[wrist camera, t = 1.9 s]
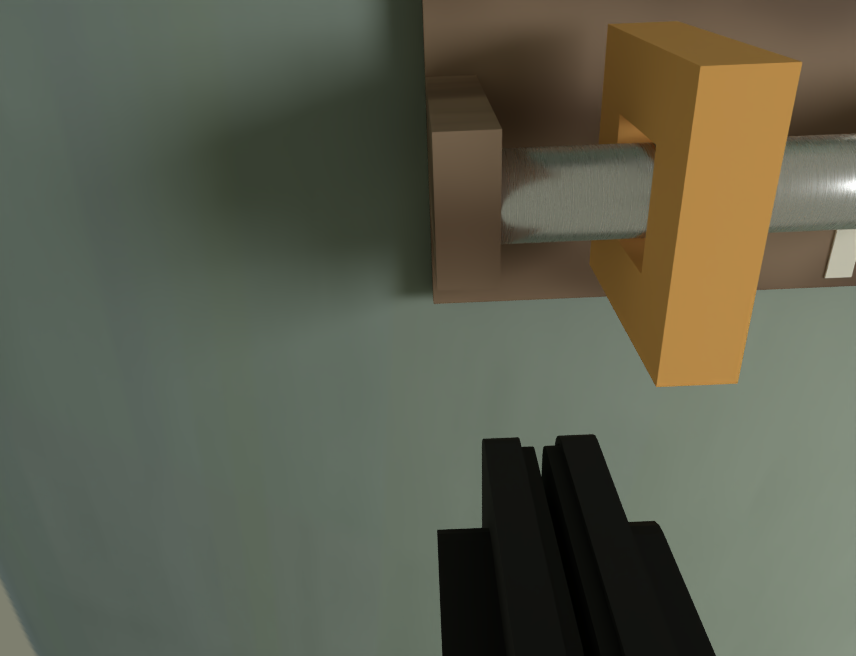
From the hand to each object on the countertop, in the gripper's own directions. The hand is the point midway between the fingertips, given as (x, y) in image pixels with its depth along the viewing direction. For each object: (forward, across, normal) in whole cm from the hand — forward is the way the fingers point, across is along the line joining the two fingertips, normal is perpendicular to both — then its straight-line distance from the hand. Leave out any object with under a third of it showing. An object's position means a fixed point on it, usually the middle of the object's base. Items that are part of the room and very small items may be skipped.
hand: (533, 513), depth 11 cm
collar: (+18, -6, -1) cm, 19 cm away
